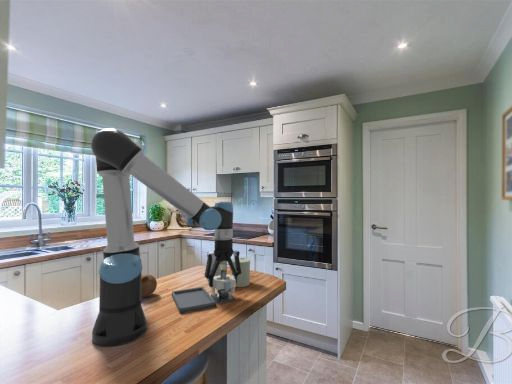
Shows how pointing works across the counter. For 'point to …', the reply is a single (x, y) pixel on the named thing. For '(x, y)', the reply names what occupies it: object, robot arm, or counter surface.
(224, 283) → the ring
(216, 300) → the metal post stand
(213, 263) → the supplement tub
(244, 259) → the can
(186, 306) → the tray
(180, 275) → the counter surface
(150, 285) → the onion
